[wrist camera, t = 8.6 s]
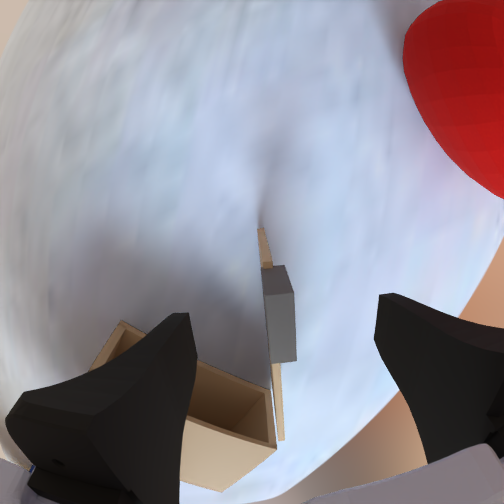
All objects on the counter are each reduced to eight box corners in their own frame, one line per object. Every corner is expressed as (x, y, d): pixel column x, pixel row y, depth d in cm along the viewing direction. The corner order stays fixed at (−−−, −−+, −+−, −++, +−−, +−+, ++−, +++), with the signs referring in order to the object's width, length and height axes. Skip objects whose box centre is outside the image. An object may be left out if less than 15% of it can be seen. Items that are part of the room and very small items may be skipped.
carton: (224, 440, 24) (221, 492, 19) (96, 384, 22) (71, 432, 16) (270, 390, 22) (277, 449, 17) (121, 320, 20) (88, 371, 14)
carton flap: (270, 383, 22) (280, 472, 14) (255, 228, 18) (263, 287, 10) (283, 381, 22) (297, 470, 14) (272, 227, 18) (293, 284, 10)
